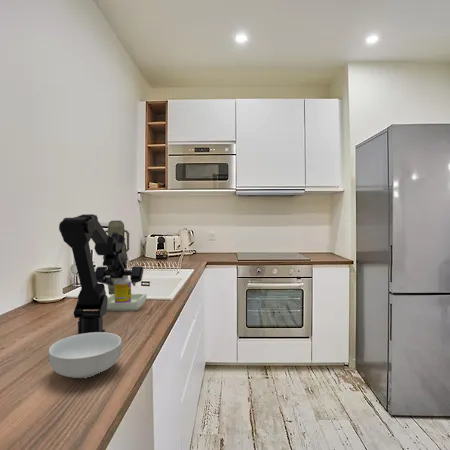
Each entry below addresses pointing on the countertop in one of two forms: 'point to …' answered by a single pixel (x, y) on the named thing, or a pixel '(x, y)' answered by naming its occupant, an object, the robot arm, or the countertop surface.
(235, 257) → the countertop surface
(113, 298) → the tray
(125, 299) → the supplement bottle
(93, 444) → the countertop surface
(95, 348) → the cereal bowl
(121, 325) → the countertop surface
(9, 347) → the countertop surface
